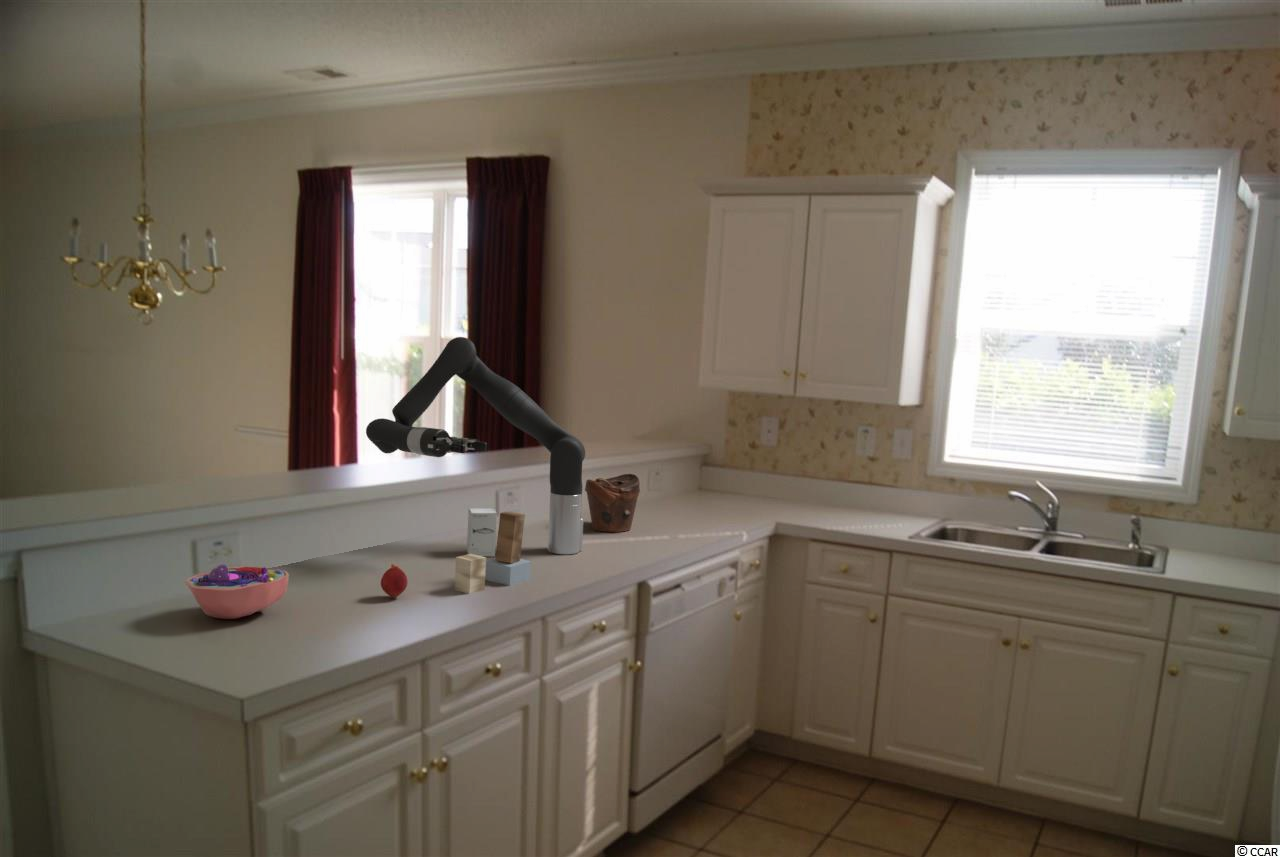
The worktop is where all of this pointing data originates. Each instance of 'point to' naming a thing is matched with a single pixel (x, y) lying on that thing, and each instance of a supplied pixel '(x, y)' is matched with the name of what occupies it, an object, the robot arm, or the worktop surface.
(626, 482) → the brown wooden tapered pot
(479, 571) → the birch block
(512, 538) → the walnut block
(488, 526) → the supplement box
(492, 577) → the base block
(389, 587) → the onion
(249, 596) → the cell model
